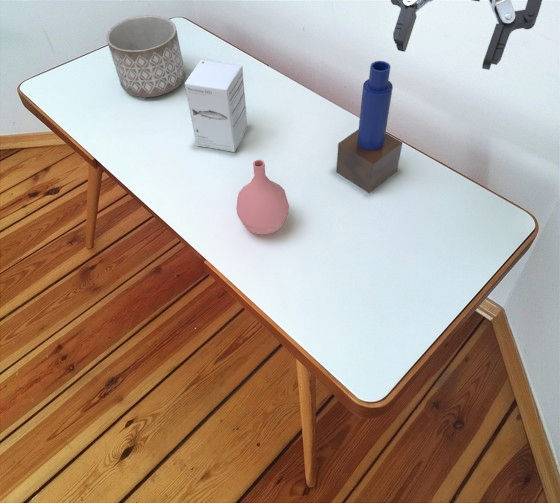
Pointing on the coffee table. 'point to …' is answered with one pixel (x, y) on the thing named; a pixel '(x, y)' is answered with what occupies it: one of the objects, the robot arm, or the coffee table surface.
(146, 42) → the planter
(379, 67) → the bottle
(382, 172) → the block
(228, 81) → the white packaging box
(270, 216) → the pink bud vase
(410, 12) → the robot arm
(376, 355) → the coffee table surface
